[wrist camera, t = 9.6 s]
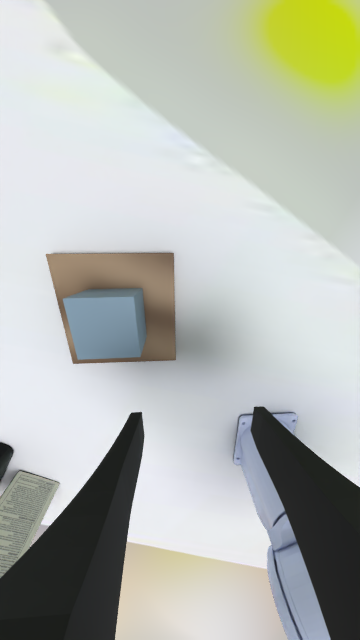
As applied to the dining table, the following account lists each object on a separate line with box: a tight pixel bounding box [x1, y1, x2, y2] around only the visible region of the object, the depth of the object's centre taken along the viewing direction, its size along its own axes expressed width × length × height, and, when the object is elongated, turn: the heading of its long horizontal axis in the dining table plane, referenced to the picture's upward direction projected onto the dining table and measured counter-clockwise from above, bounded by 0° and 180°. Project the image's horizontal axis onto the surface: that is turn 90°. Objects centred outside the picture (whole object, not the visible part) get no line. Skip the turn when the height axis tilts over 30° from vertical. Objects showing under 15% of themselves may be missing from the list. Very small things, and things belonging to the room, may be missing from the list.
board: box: [46, 253, 176, 364], centre depth 16 cm, size 11×11×4 cm
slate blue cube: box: [63, 288, 147, 360], centre depth 15 cm, size 5×5×4 cm
